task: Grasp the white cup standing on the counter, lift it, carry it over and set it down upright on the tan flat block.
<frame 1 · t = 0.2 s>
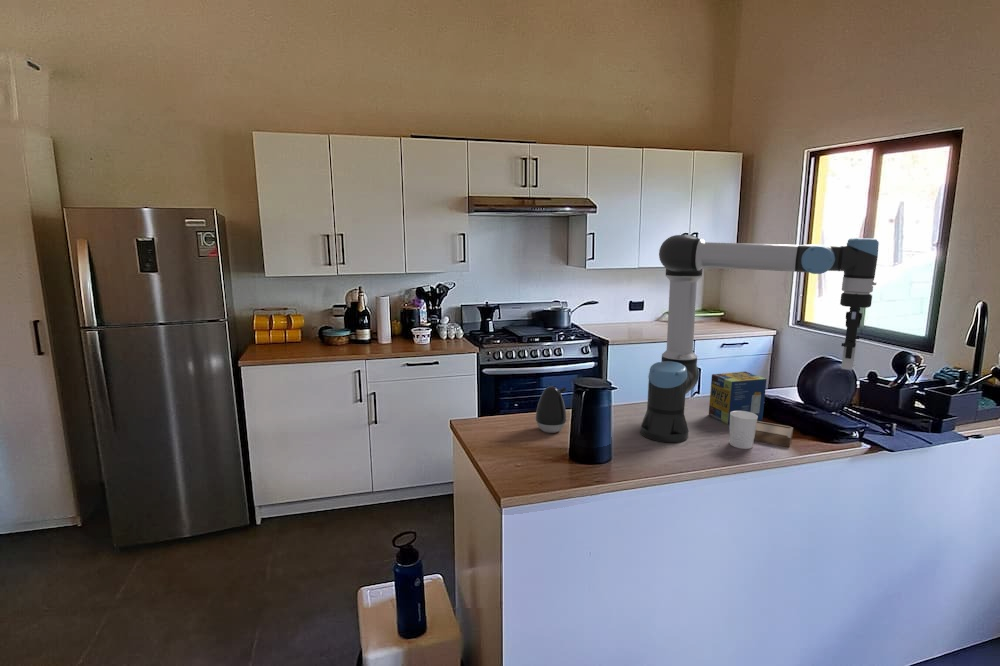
hand: (847, 364, 161), 28 cm above the table, fingers open, 13 cm apart
tan flat block: (766, 437, 179), on the table
protein box: (735, 418, 197), on the table
dark grey egg: (550, 430, 183), on the table
white cup: (740, 445, 172), on the table
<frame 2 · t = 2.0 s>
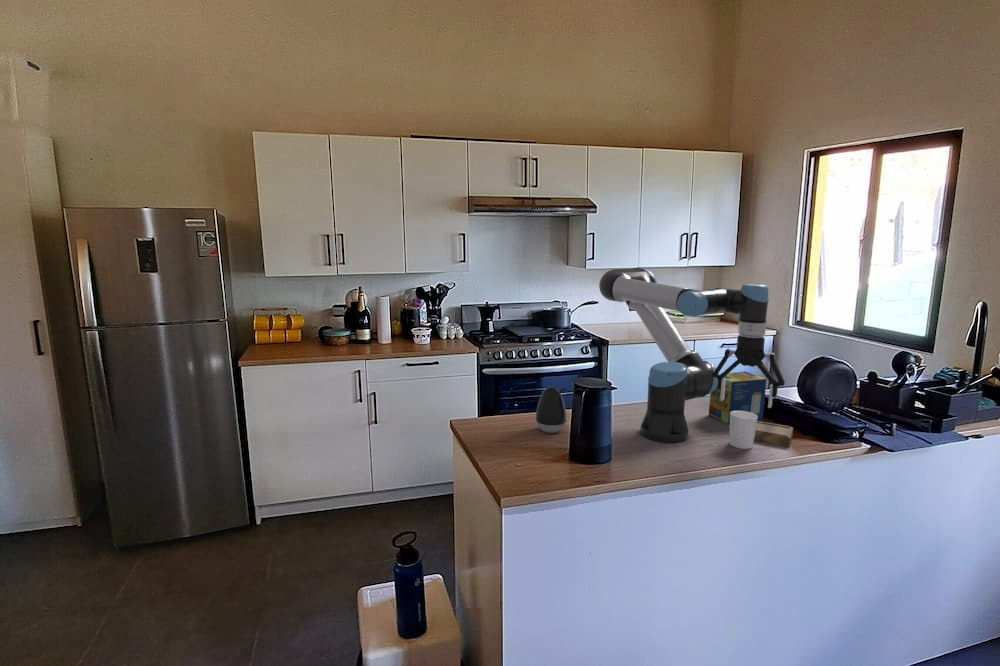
hand: (745, 403, 169), 14 cm above the table, fingers open, 13 cm apart
nothing on the table moved.
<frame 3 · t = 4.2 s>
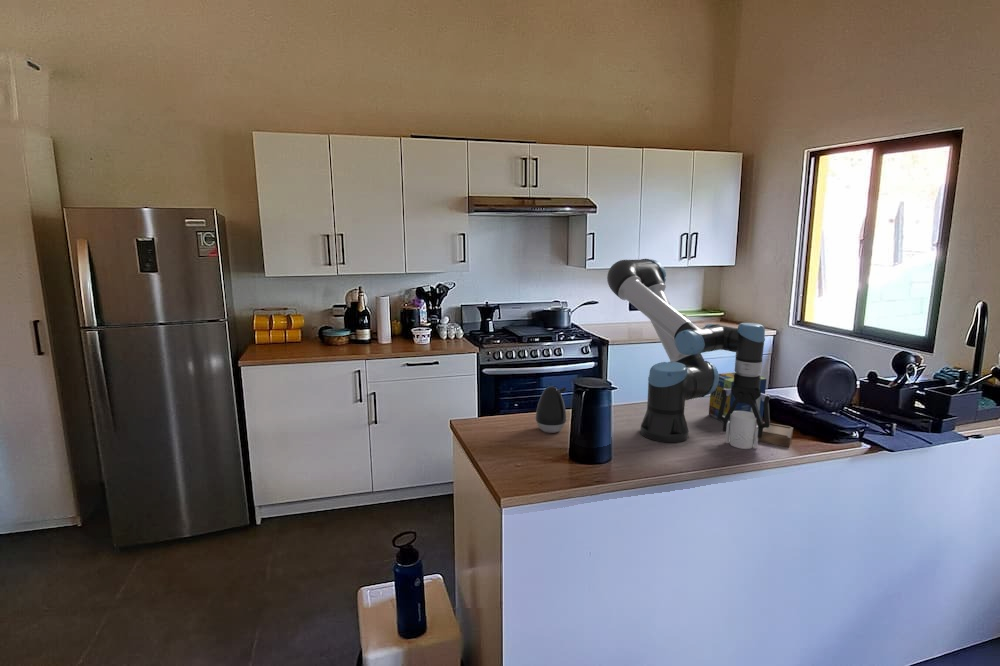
hand: (741, 444, 172), 0 cm above the table, fingers closed on white cup, 7 cm apart
white cup: (741, 445, 172), on the table, touching gripper
everything else where it was.
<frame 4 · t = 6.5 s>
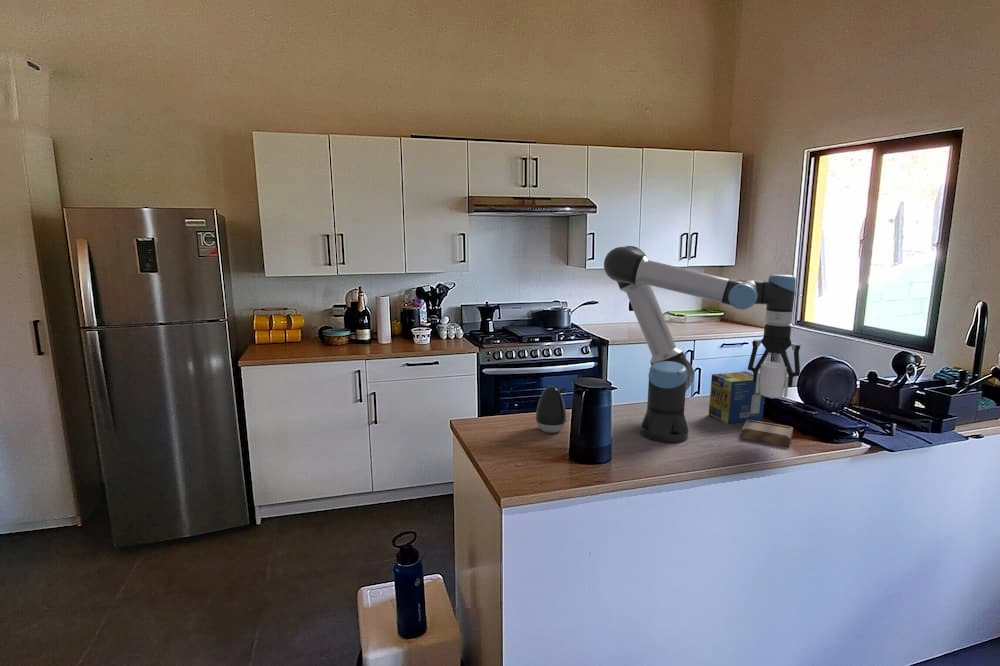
hand: (771, 394, 176), 15 cm above the table, fingers closed on white cup, 7 cm apart
white cup: (771, 395, 176), point 14 cm above the table, touching gripper
everything else where it was.
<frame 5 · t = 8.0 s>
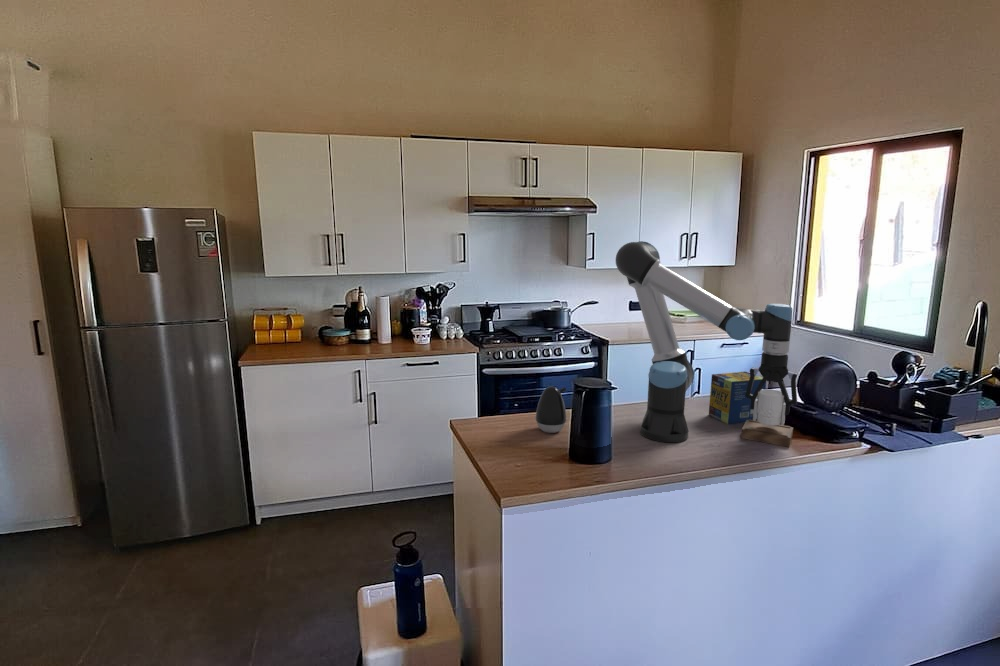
hand: (768, 421, 178), 5 cm above the table, fingers closed on white cup, 7 cm apart
white cup: (768, 422, 178), point 5 cm above the table, touching gripper
everything else where it was.
when the fingers open (5 cm above the table, at t = 9.0 s): white cup drops 1 cm, resting on tan flat block.
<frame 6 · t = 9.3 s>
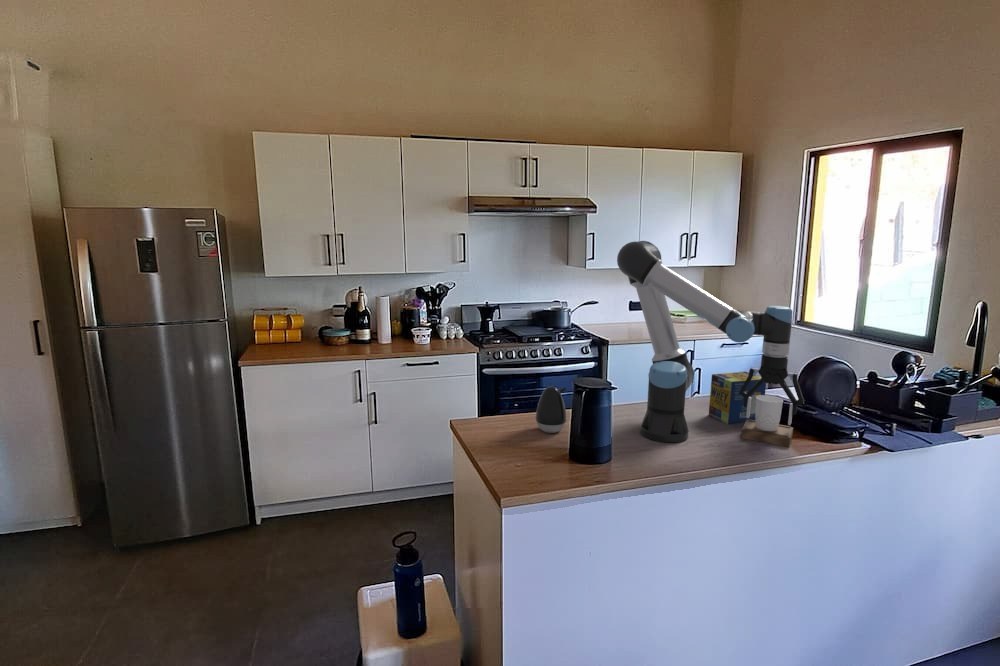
hand: (768, 420, 177), 6 cm above the table, fingers open, 11 cm apart
white cup: (766, 428, 178), point 3 cm above the table, touching tan flat block
everything else where it was.
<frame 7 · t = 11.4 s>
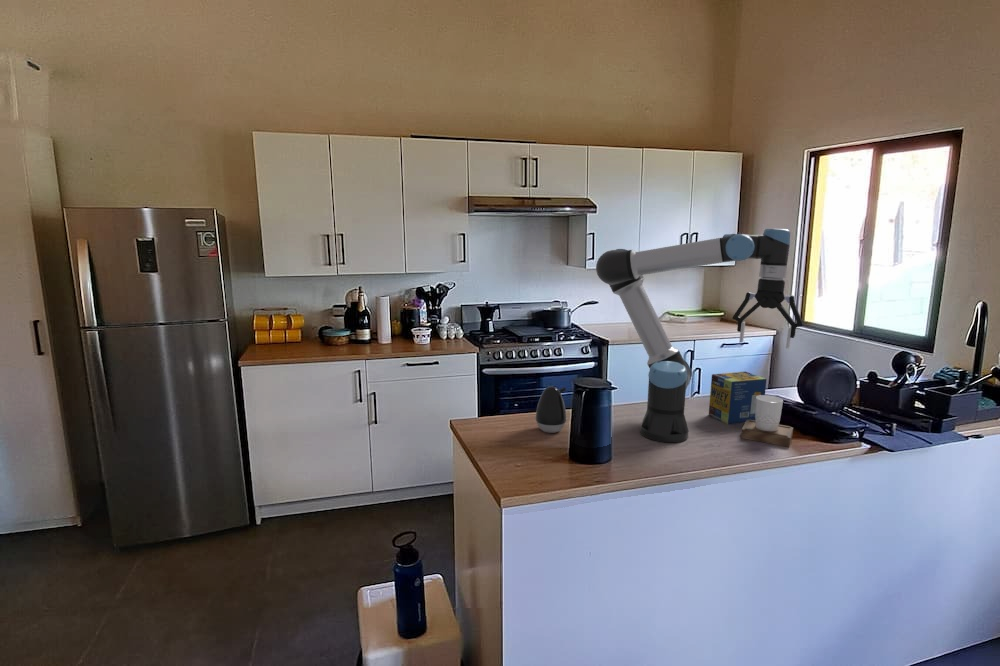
hand: (763, 344, 176), 30 cm above the table, fingers open, 13 cm apart
nothing on the table moved.
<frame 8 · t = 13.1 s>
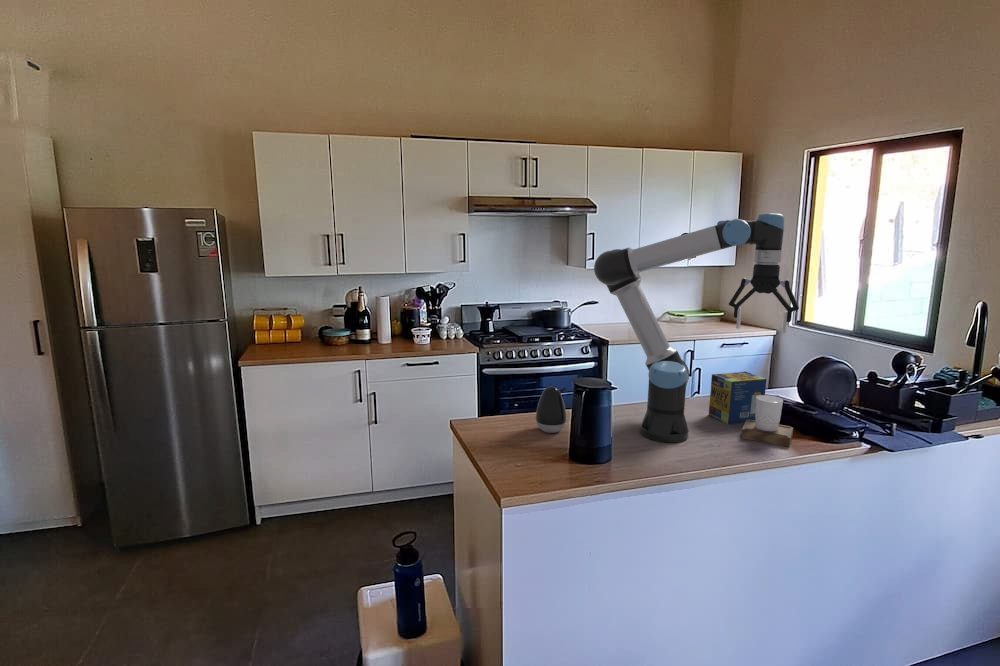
hand: (760, 330, 177), 35 cm above the table, fingers open, 13 cm apart
nothing on the table moved.
at the end: white cup inside the target area on the tan flat block (0.3 cm from its centre), point 2.8 cm above the tan flat block's base; white cup tilted 0°; the gripper is holding nothing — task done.
